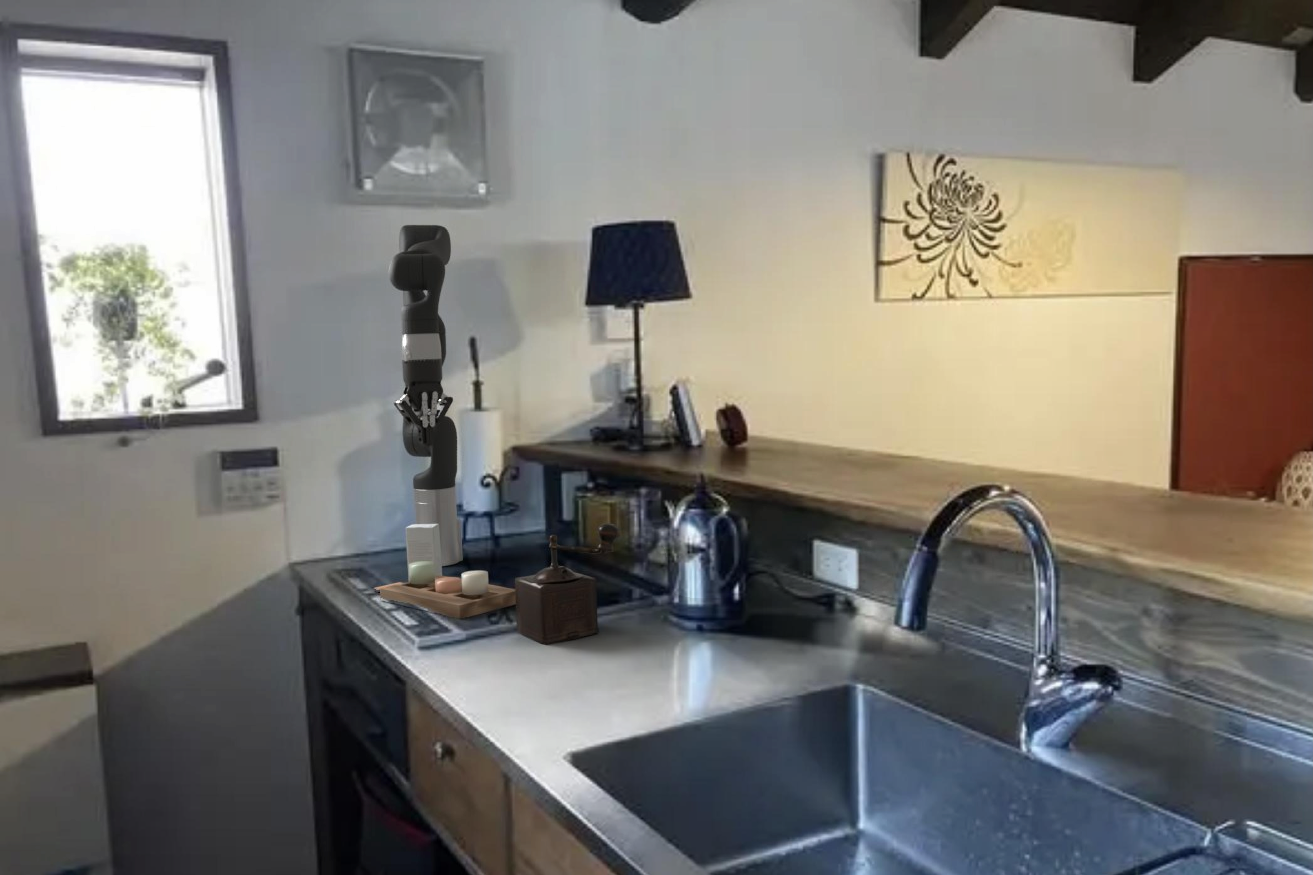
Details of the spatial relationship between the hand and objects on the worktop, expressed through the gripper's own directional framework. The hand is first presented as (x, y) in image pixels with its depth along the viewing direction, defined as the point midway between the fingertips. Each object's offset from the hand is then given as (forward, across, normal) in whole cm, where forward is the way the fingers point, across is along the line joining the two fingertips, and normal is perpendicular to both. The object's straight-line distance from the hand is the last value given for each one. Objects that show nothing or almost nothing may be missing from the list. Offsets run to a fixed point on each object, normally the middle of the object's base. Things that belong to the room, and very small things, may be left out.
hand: (426, 446), depth 207 cm
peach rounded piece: (+28, +4, +10) cm, 30 cm away
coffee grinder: (+29, +5, +44) cm, 53 cm away
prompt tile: (+29, +4, -7) cm, 30 cm away
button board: (+29, +4, +10) cm, 31 cm away
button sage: (+26, +4, +2) cm, 26 cm away
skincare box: (+29, -4, -8) cm, 31 cm away
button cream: (+26, +4, +18) cm, 32 cm away
